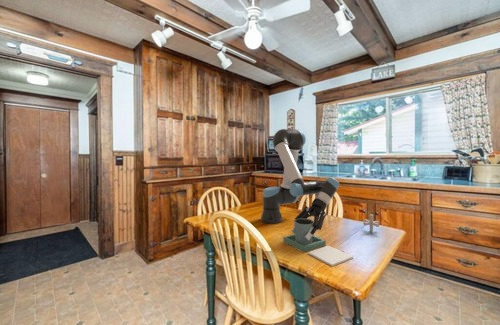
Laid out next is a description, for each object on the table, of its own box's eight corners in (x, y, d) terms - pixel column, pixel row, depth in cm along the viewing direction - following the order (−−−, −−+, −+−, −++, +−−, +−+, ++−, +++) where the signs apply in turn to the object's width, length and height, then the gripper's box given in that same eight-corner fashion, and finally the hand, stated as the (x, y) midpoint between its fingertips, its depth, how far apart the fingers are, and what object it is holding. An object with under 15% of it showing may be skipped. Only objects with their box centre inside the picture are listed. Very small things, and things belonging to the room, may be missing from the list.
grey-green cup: (299, 238, 126) (299, 217, 125) (317, 242, 120) (317, 220, 119) (290, 244, 118) (290, 221, 118) (308, 249, 112) (308, 225, 111)
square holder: (283, 241, 122) (283, 237, 122) (304, 235, 129) (304, 231, 129) (303, 252, 108) (303, 247, 108) (325, 245, 116) (325, 240, 116)
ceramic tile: (308, 253, 107) (308, 252, 107) (328, 247, 114) (328, 245, 114) (332, 266, 95) (332, 264, 95) (353, 258, 102) (353, 256, 102)
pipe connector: (371, 235, 129) (371, 217, 129) (358, 229, 139) (358, 213, 139) (384, 233, 132) (385, 216, 132) (371, 227, 142) (371, 212, 141)
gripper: (341, 210, 116) (319, 247, 109) (309, 202, 136) (289, 233, 128) (334, 201, 113) (311, 238, 106) (303, 194, 133) (282, 225, 125)
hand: (299, 235), depth 117 cm, fingers closed on grey-green cup, 10 cm apart
